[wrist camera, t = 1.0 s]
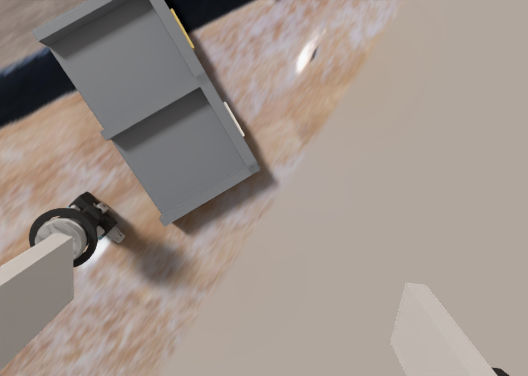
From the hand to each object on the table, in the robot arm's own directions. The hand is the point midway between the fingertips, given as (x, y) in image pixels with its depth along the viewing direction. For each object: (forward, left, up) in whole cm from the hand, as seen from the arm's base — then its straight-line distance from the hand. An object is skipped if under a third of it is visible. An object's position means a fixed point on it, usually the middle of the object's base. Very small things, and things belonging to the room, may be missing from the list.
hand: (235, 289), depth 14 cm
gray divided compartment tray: (-1, +10, -27) cm, 29 cm away
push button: (-13, +3, -27) cm, 30 cm away
